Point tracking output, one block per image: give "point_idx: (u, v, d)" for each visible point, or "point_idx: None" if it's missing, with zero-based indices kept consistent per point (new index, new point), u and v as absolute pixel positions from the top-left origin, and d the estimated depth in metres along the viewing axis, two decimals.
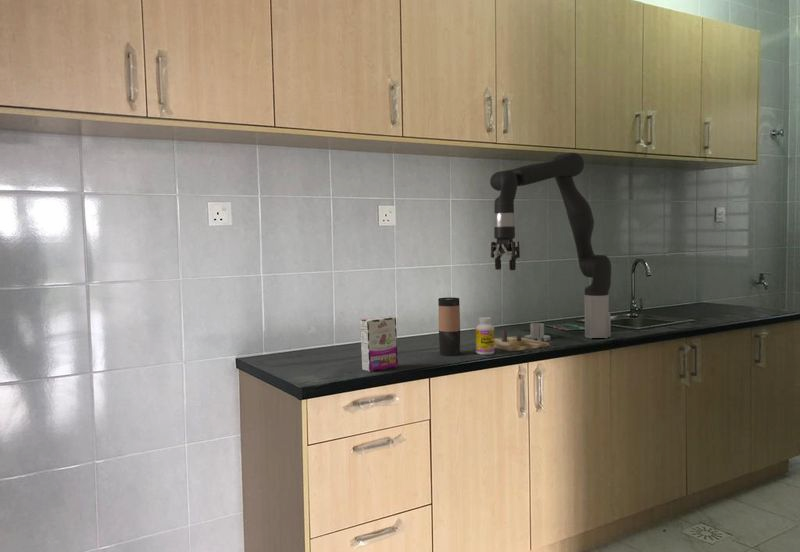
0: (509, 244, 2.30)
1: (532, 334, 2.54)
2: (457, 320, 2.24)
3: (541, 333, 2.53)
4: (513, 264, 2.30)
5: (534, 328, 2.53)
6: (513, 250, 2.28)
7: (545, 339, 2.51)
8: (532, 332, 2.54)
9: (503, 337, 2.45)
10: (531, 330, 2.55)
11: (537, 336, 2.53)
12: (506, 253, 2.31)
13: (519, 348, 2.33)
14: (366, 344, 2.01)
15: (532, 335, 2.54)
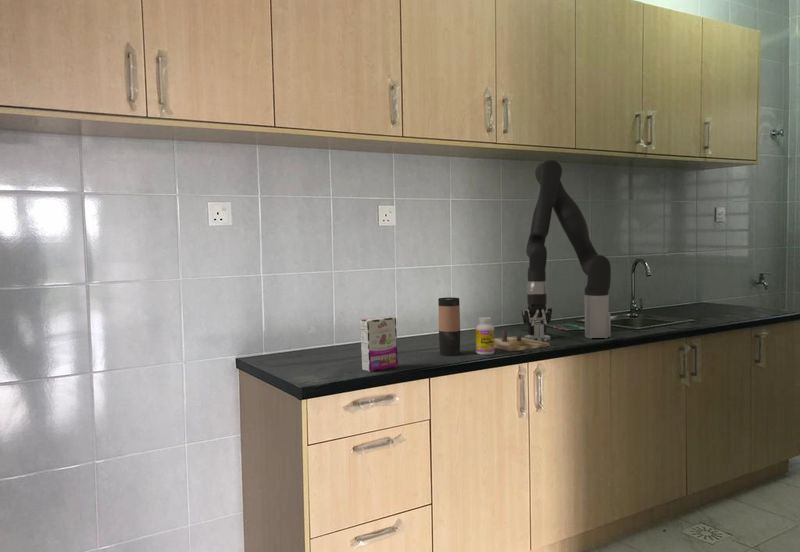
0: (545, 309, 2.56)
1: None
2: (457, 320, 2.24)
3: (541, 333, 2.53)
4: None
5: (534, 328, 2.53)
6: (550, 316, 2.57)
7: (545, 339, 2.51)
8: None
9: (503, 337, 2.45)
10: None
11: (537, 336, 2.53)
12: (544, 318, 2.55)
13: (519, 348, 2.33)
14: (366, 344, 2.01)
15: None
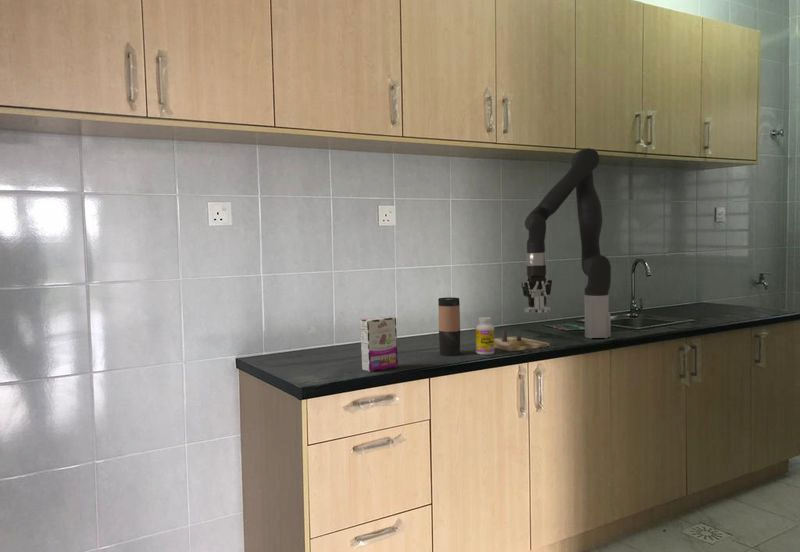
0: (545, 281, 2.56)
1: None
2: (457, 320, 2.24)
3: (541, 304, 2.53)
4: None
5: (534, 300, 2.53)
6: (550, 287, 2.56)
7: (545, 310, 2.51)
8: None
9: (503, 337, 2.45)
10: None
11: (537, 308, 2.53)
12: (544, 290, 2.54)
13: (519, 348, 2.33)
14: (366, 344, 2.01)
15: (532, 307, 2.54)
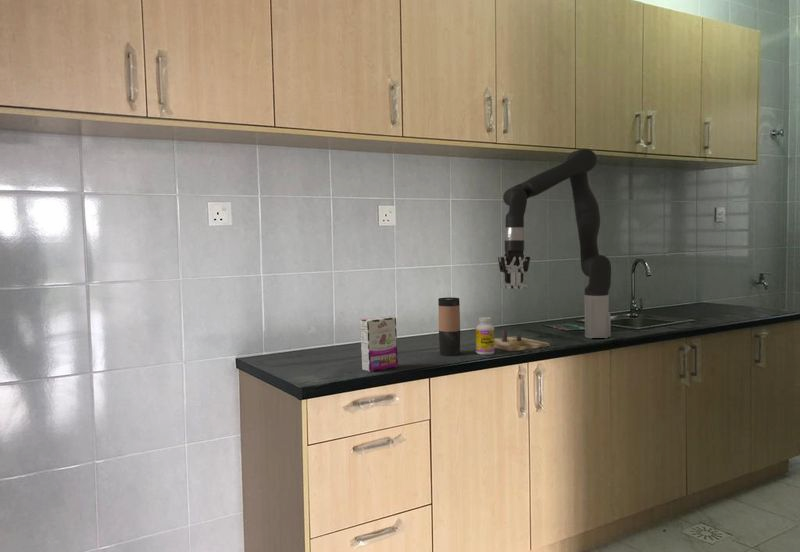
0: (523, 257, 2.48)
1: None
2: (457, 320, 2.24)
3: (517, 281, 2.46)
4: None
5: (510, 276, 2.46)
6: (527, 264, 2.49)
7: (521, 287, 2.44)
8: None
9: (503, 337, 2.45)
10: None
11: (513, 284, 2.45)
12: (521, 266, 2.47)
13: (519, 348, 2.33)
14: (366, 344, 2.01)
15: None
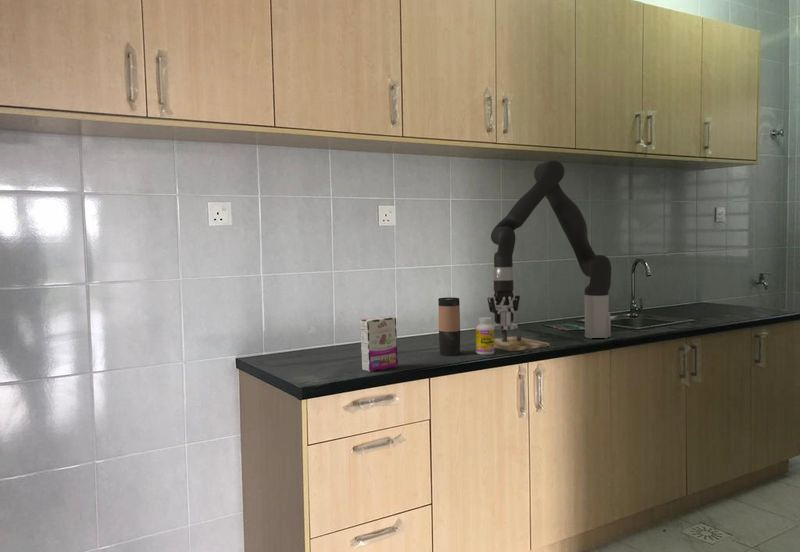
0: (513, 296, 2.45)
1: None
2: (457, 320, 2.24)
3: (507, 321, 2.43)
4: None
5: (500, 316, 2.43)
6: (517, 303, 2.46)
7: (512, 327, 2.41)
8: None
9: (503, 337, 2.45)
10: None
11: (503, 324, 2.42)
12: (511, 306, 2.44)
13: (519, 348, 2.33)
14: (366, 344, 2.01)
15: None
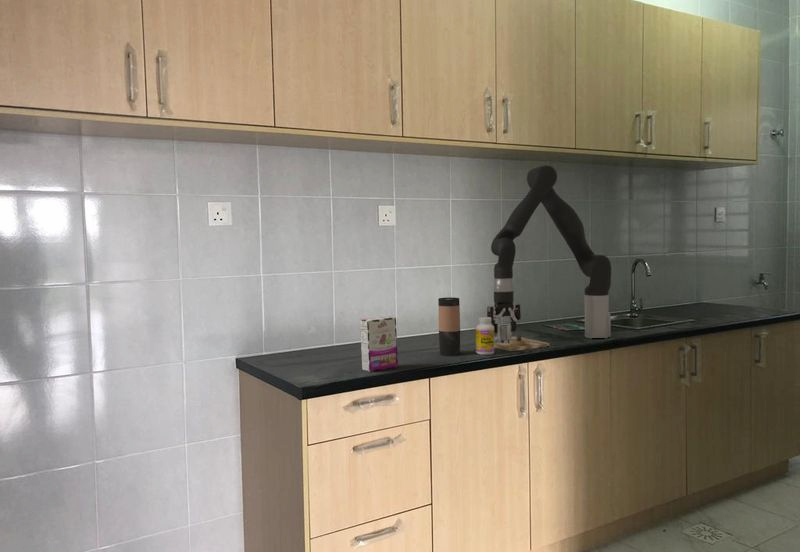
0: (513, 307, 2.46)
1: (499, 336, 2.44)
2: (457, 320, 2.24)
3: (508, 335, 2.43)
4: None
5: (501, 330, 2.43)
6: (519, 312, 2.47)
7: None
8: (499, 334, 2.44)
9: None
10: (498, 332, 2.45)
11: (504, 338, 2.43)
12: (513, 316, 2.45)
13: (519, 348, 2.33)
14: (366, 344, 2.01)
15: (499, 337, 2.44)
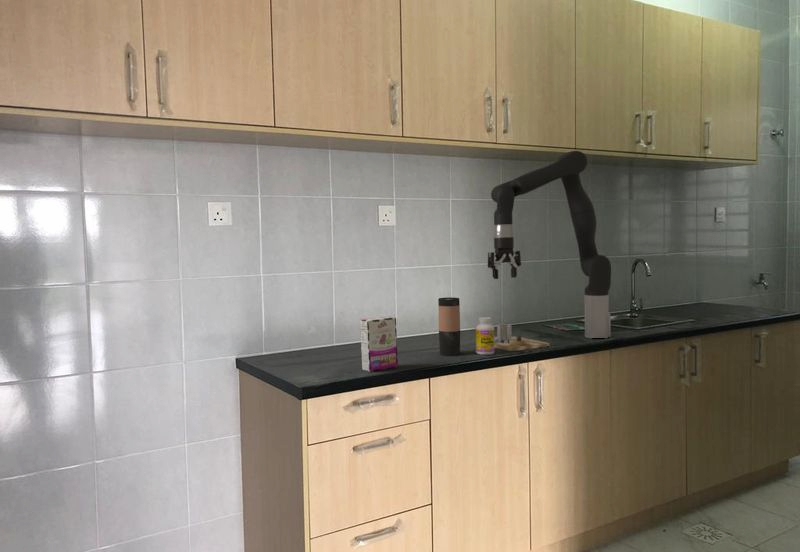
0: (513, 253, 2.48)
1: (499, 336, 2.44)
2: (457, 320, 2.24)
3: (508, 335, 2.43)
4: None
5: (501, 330, 2.43)
6: (519, 258, 2.49)
7: None
8: (499, 334, 2.44)
9: None
10: (498, 332, 2.45)
11: (504, 338, 2.43)
12: (513, 262, 2.47)
13: (519, 348, 2.33)
14: (366, 344, 2.01)
15: (499, 337, 2.44)
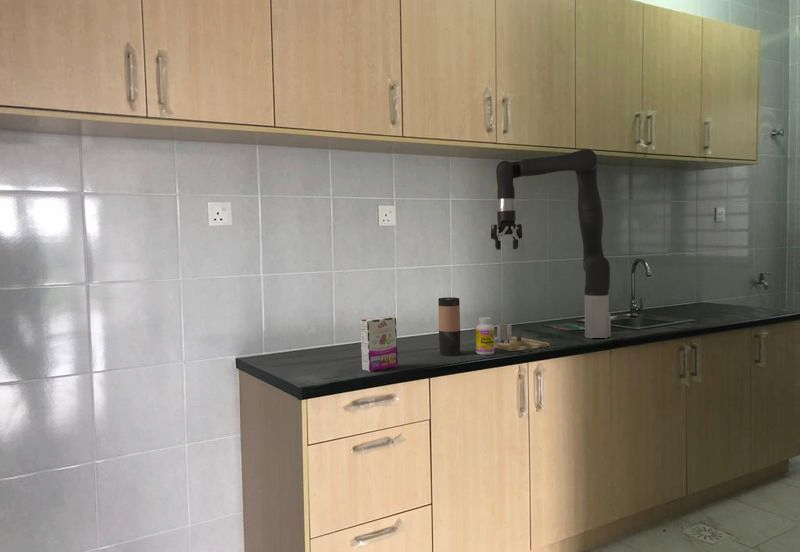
0: (515, 226, 2.65)
1: (499, 336, 2.44)
2: (457, 320, 2.24)
3: (508, 335, 2.43)
4: None
5: (501, 330, 2.43)
6: (521, 231, 2.66)
7: None
8: (499, 334, 2.44)
9: None
10: (498, 332, 2.45)
11: (504, 338, 2.43)
12: (515, 234, 2.64)
13: (519, 348, 2.33)
14: (366, 344, 2.01)
15: (499, 337, 2.44)
